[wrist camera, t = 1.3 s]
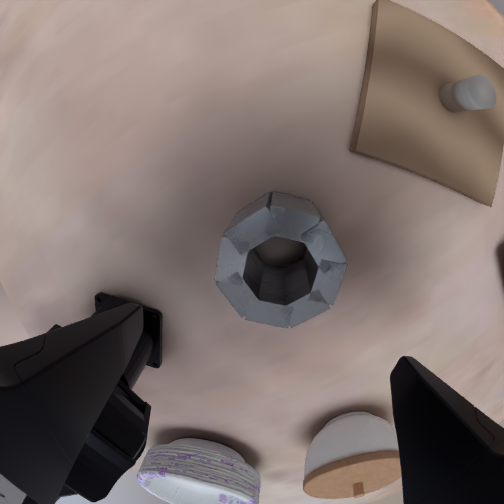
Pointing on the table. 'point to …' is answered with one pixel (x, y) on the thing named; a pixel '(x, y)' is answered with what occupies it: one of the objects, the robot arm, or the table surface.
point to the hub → (275, 278)
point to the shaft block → (431, 103)
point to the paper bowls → (198, 474)
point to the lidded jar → (352, 457)
